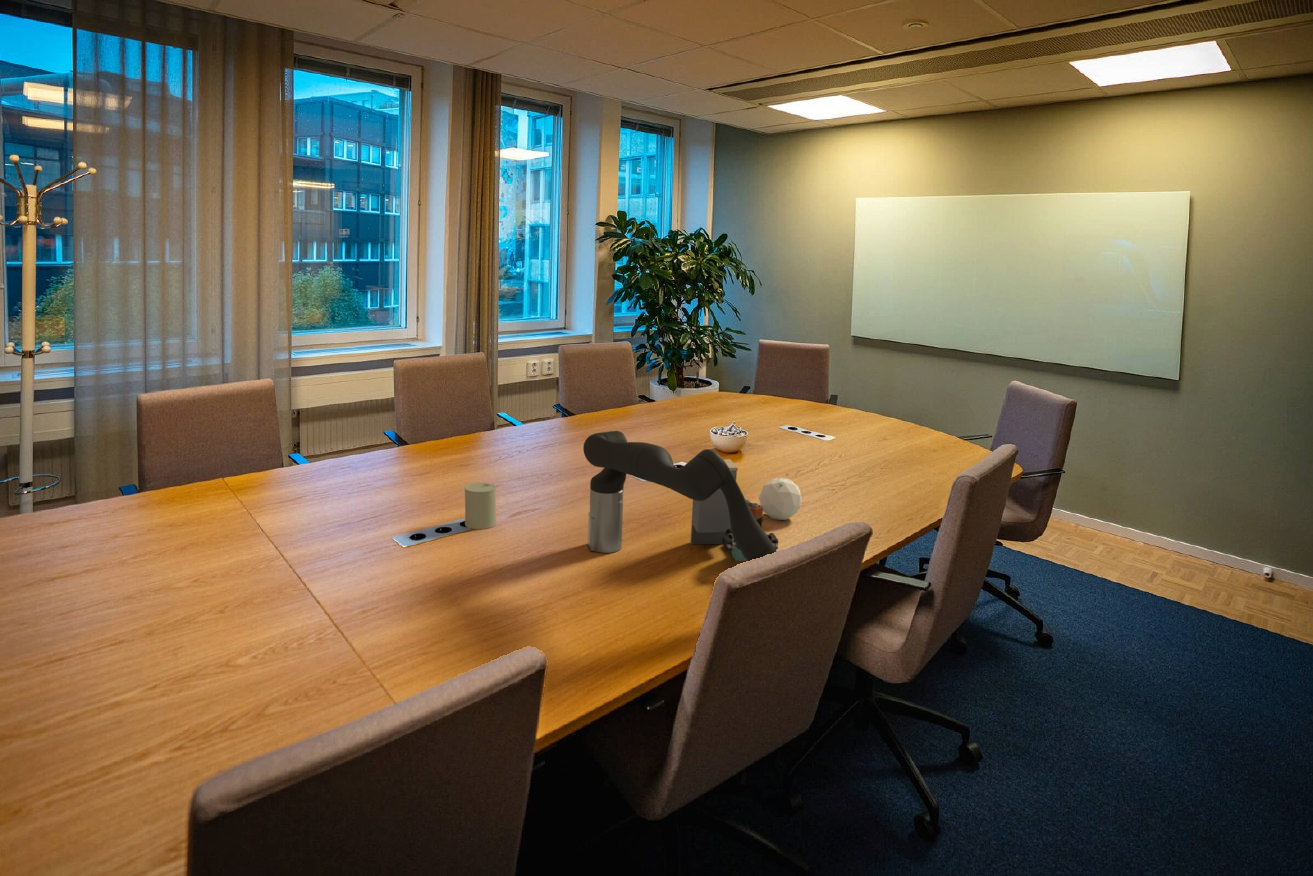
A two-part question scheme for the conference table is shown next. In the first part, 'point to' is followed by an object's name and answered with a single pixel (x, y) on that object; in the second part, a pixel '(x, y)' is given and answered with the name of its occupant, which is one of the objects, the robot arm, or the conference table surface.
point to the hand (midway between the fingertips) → (742, 531)
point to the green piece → (737, 554)
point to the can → (480, 505)
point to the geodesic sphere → (780, 498)
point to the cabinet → (711, 516)
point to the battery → (756, 511)
